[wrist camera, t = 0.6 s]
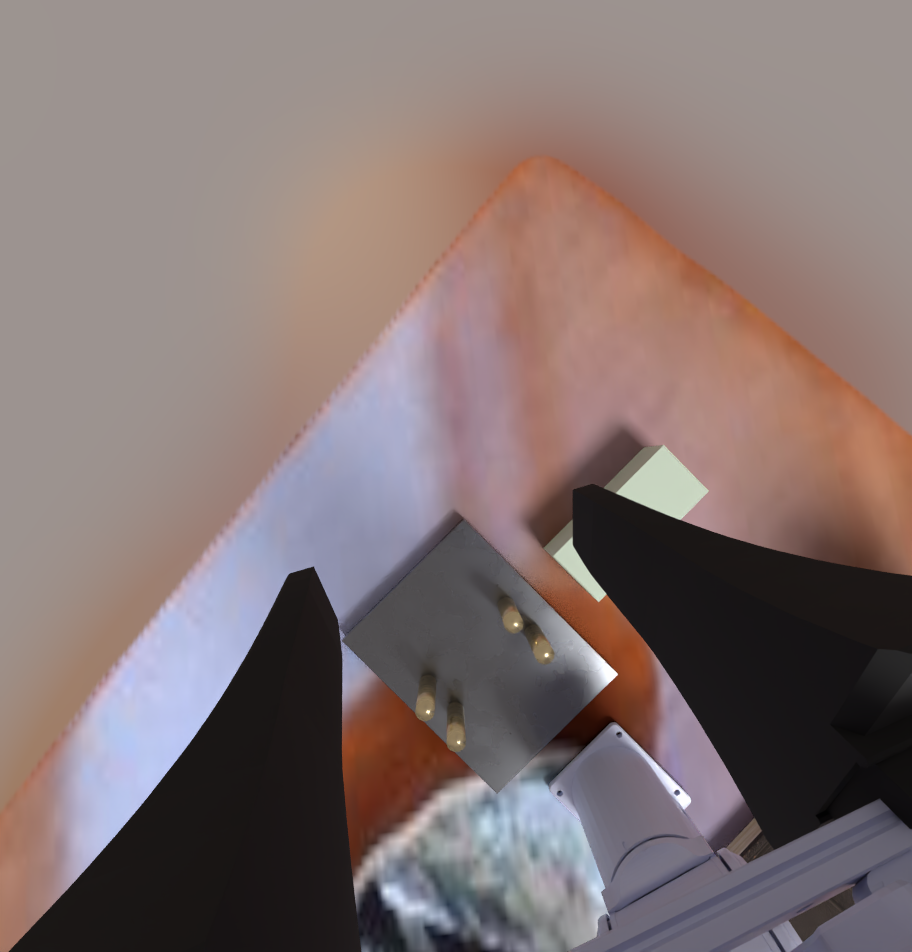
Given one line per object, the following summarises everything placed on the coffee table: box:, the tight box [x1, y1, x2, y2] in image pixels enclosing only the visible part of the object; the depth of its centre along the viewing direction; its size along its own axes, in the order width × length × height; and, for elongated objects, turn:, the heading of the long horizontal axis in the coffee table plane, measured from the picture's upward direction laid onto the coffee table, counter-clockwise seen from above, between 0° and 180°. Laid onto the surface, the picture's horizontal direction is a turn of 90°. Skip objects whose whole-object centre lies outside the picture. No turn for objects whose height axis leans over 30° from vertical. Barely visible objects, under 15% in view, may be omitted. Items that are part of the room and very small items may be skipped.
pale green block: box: [544, 445, 709, 602], centre depth 33 cm, size 5×12×4 cm, turn 135°
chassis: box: [342, 518, 618, 793], centre depth 32 cm, size 18×14×5 cm
